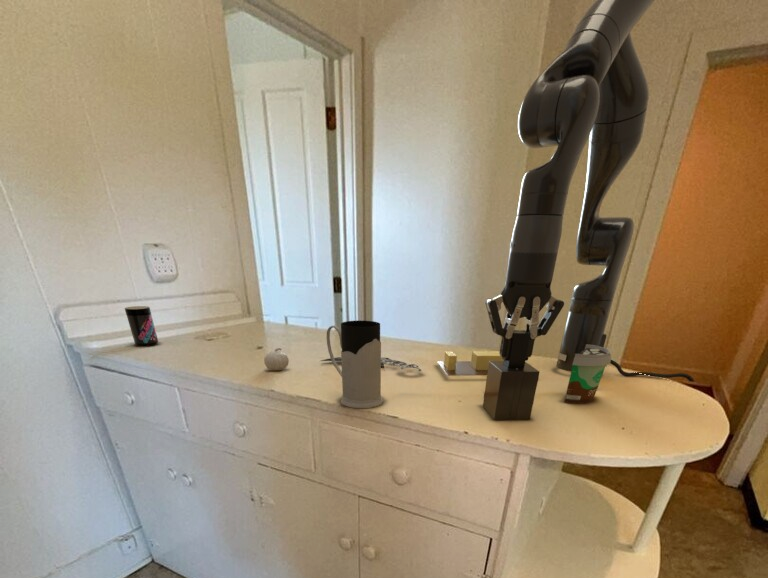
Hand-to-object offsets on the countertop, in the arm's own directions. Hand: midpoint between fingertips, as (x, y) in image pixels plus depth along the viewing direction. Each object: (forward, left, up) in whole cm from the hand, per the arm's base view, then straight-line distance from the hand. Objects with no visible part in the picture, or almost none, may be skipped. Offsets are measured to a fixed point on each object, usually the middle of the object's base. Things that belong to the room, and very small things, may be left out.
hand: (514, 359), depth 78 cm
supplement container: (+93, -65, -10) cm, 114 cm away
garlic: (+49, -34, -10) cm, 61 cm away
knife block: (0, 0, -10) cm, 10 cm away
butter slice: (+5, -30, -9) cm, 32 cm away
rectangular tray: (-4, -30, -10) cm, 32 cm away
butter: (-6, -30, -9) cm, 32 cm away
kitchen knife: (0, 0, -10) cm, 10 cm away
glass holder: (+30, -10, -10) cm, 33 cm away
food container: (-20, -8, -10) cm, 24 cm away
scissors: (+24, -36, -10) cm, 45 cm away
